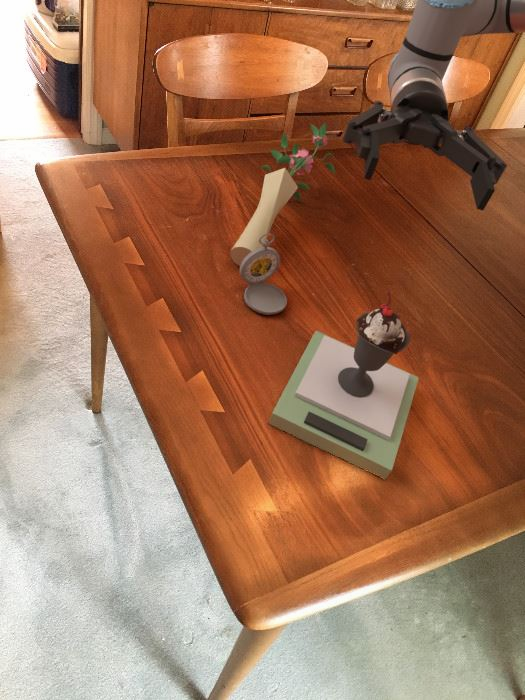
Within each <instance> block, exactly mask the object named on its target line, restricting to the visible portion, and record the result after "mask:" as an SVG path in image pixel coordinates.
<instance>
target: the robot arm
mask: <svg viewBox="0 0 525 700" xmlns="http://www.w3.org/2000/svg"><path fill="white" fill-rule="evenodd" d="M514 33H517V34H518V33H519V34H520V33H525V0H417V1H416V4H415V7H414V10H413V13H412V15H411V18H410V21H409V23H408V27H407V29H406V32H405V35H404V38H403V41H402V43H401V45H400V48H399V51H398V52H397V53H396V54H395V55H394V56H393V59H392V60H391V63H390V65H389V70H388V73H387V85H388V91H389V92H388V93H389V104H390V111H389V110H387V107H385V106H384V103H383V101H380V100H374V103H373V106H372V107H370V108H367V110H364V111H363V112H362V113H359V114H358V115H356V116H354V117H353V118H351V119H349V120H348V122H347V125H346V128H345V131H344V134H343V137H342V142H343V143H345V144H348V145H350V144H353V143H354V144H356V145H355V148H354V154H355V155H357V157H358V158H359V159H363V160H364V174H363V175H364V177H363V178H364V180H368V181H372V178H373V176H374V173H375V171H376V168H377V165H378V163H379V161H380V148H379V147H380V146H382V145H386V144H390V143H393V144H394V145H397V144H400V143H405V144H407V145H411V146H422V147H423V148H425V149H429V150H430V151H431V152H433V153H434V154H435V155H436V156H438V157H446V158H447V159H448V160H449V161H451V163H454V165H456V166H457V167H459V168H460V169H461V170H462V171H463V172H465V173H466V174H468V175H469V176H470V177H471V179H470V180H469V182H470V187H471V189H472V194H473V198H474V203H475V207H476V210H479V211H484V210H485V209H486V207H487V205H488V203H489V202H490V200H491V199H492V196H493V194H494V193H495V191H496V188H495V185H496V184H498V183H499V181H500V179H501V177H502V176H503V174H504V172H505V171H506V169H507V167H508V164H507V163H506V161H504V160H503V159H502V158H501V157H500V156H499V155H498V154H496V152H495V151H493V149H491V147H489V146H488V145H487V144H486V143H485V142H484V141H483V140H482V139H481V138H480V137H479V136H478V135H477V134H476V132H475V130H474V128H472V127H471V126H469V125H465V126H464V128H463V129H462V130H457V129H455V128H454V127H453V125H452V124H451V122H449V118H450V116H449V115H450V113H449V112H450V111H449V105H448V101H447V96H446V91H445V88H444V85H443V84H444V83H443V79H444V77H445V75H446V72H447V70H448V68H449V65H450V64H451V61H452V59H453V57H454V54H455V52H456V50H457V48H458V46H459V43H460V41H461V38H464V37H472V36H478V35H491V34H494V35H495V34H514Z"/></svg>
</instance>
